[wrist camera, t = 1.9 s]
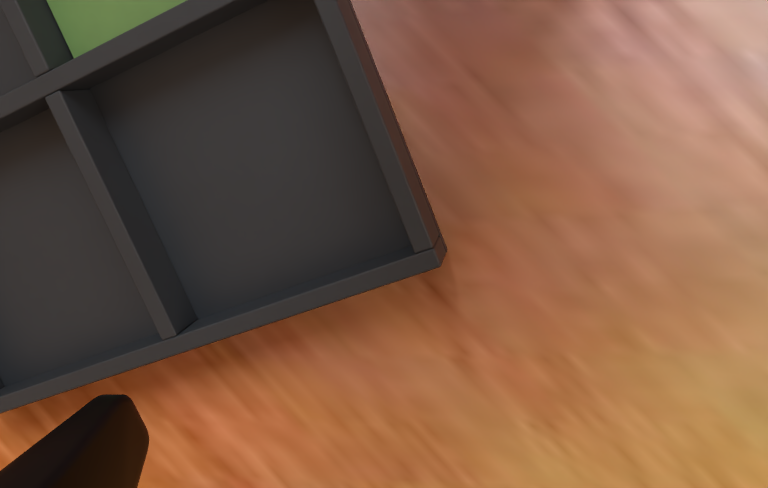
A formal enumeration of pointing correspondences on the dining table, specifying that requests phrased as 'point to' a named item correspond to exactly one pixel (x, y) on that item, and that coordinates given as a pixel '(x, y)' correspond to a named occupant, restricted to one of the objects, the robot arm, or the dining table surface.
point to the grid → (189, 179)
